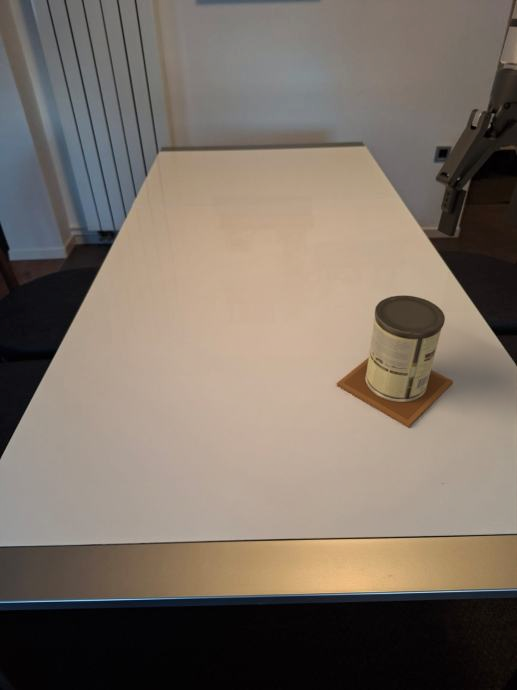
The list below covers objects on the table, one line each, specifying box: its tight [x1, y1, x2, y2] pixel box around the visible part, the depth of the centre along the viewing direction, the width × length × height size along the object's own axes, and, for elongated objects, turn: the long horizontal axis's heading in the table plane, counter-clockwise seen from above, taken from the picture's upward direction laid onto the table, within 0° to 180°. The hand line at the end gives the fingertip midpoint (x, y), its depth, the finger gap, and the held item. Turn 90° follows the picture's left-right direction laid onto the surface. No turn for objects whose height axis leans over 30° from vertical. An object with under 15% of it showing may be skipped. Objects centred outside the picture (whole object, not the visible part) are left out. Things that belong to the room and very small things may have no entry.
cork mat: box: [336, 357, 454, 429], centre depth 84 cm, size 14×14×1 cm
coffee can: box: [365, 294, 446, 402], centre depth 80 cm, size 10×10×14 cm
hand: (479, 228), depth 75 cm, fingers open, 13 cm apart
